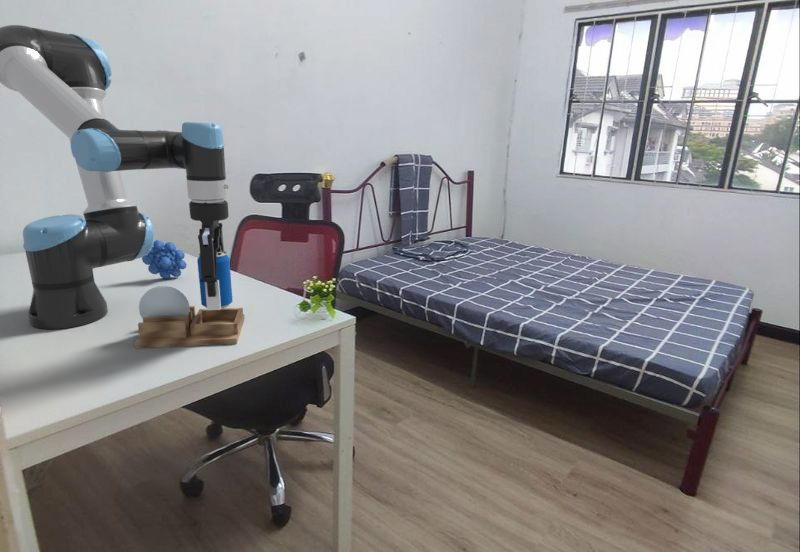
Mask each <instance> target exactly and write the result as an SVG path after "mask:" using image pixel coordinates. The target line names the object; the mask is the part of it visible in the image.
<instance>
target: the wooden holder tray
mask: <svg viewBox="0 0 800 552" xmlns="http://www.w3.org/2000/svg"><path fill="white" fill-rule="evenodd" d="M189 306H190V311H189V315H188V316H163V317H144V318H142V322H138V324H137V327H138V335H139V337H138V338H137V340H135V342H134V345H135V349H143V348H144V349H147V348H149V349H150V348H171V347H189V346H190V347H192V346H194V347H195V346H212V345H232V344H233V345H235V344H238V342H239V338H240V335H241V332H242V328H243V326H244V322H245V318H246V317H245V313H244V311H243V310H244V309H243V307H231V308H230V307H229V308H228V307H226V308H222V309H221V310H207V308H199V309H198V311H197V313H196V306H195V305H189Z"/></svg>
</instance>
